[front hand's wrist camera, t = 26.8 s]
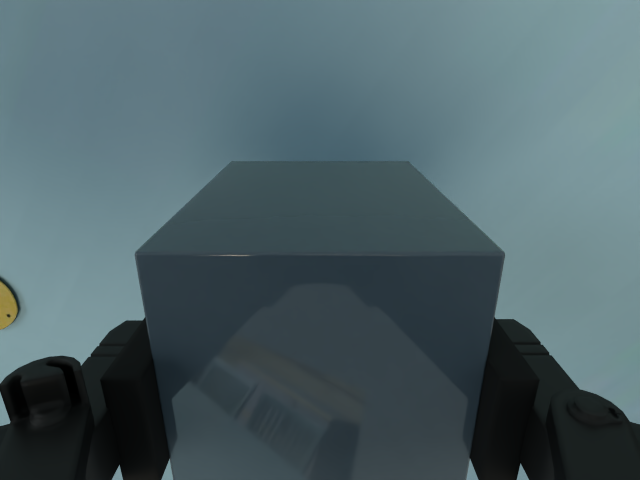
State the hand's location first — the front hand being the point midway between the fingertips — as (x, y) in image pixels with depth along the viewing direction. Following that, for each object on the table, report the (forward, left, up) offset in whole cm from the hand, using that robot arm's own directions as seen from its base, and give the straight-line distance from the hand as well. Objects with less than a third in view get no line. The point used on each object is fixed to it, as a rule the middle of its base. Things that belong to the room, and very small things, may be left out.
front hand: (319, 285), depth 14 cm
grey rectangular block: (0, 0, -3) cm, 3 cm away
